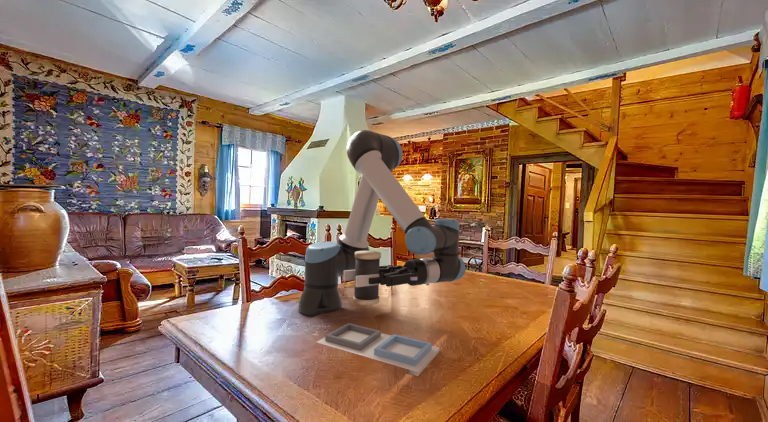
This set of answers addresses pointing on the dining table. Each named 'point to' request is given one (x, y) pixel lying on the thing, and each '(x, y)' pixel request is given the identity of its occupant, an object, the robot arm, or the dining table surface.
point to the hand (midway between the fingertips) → (350, 278)
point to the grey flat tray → (382, 347)
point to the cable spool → (366, 266)
